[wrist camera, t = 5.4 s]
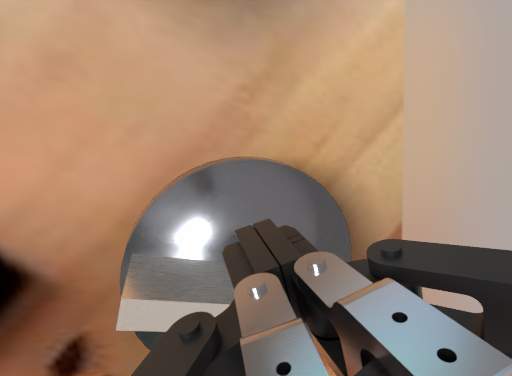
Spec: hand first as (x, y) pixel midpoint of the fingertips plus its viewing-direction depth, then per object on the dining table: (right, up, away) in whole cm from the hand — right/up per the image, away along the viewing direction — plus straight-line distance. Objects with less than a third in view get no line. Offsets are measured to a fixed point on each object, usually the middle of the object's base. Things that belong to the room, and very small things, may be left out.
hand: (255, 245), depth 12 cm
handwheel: (-1, -4, +12) cm, 12 cm away
